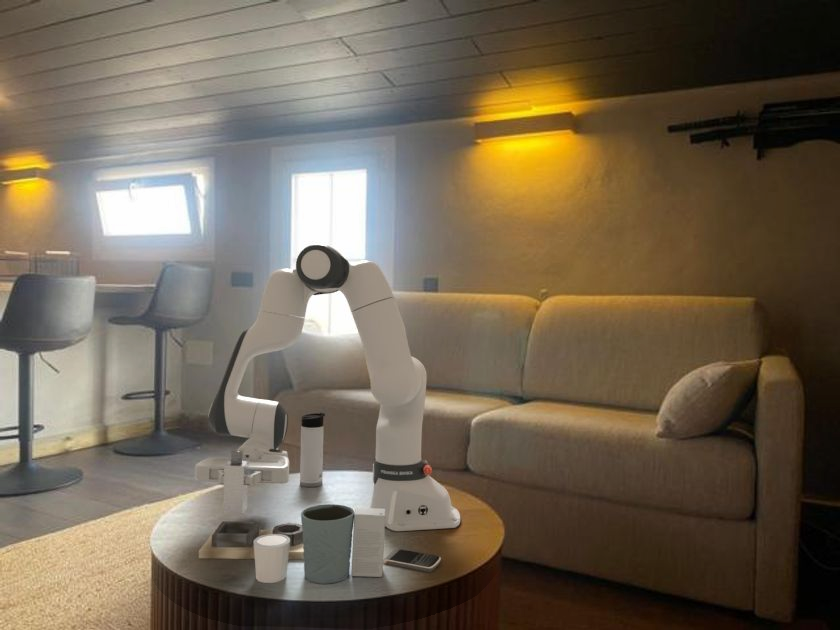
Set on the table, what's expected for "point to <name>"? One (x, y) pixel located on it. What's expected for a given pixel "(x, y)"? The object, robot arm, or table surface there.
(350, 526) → the green cylindrical pot
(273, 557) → the white cup
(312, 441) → the travel mug
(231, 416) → the robot arm
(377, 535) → the skincare box
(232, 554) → the socket board
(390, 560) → the cell phone
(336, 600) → the table surface
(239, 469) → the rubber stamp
